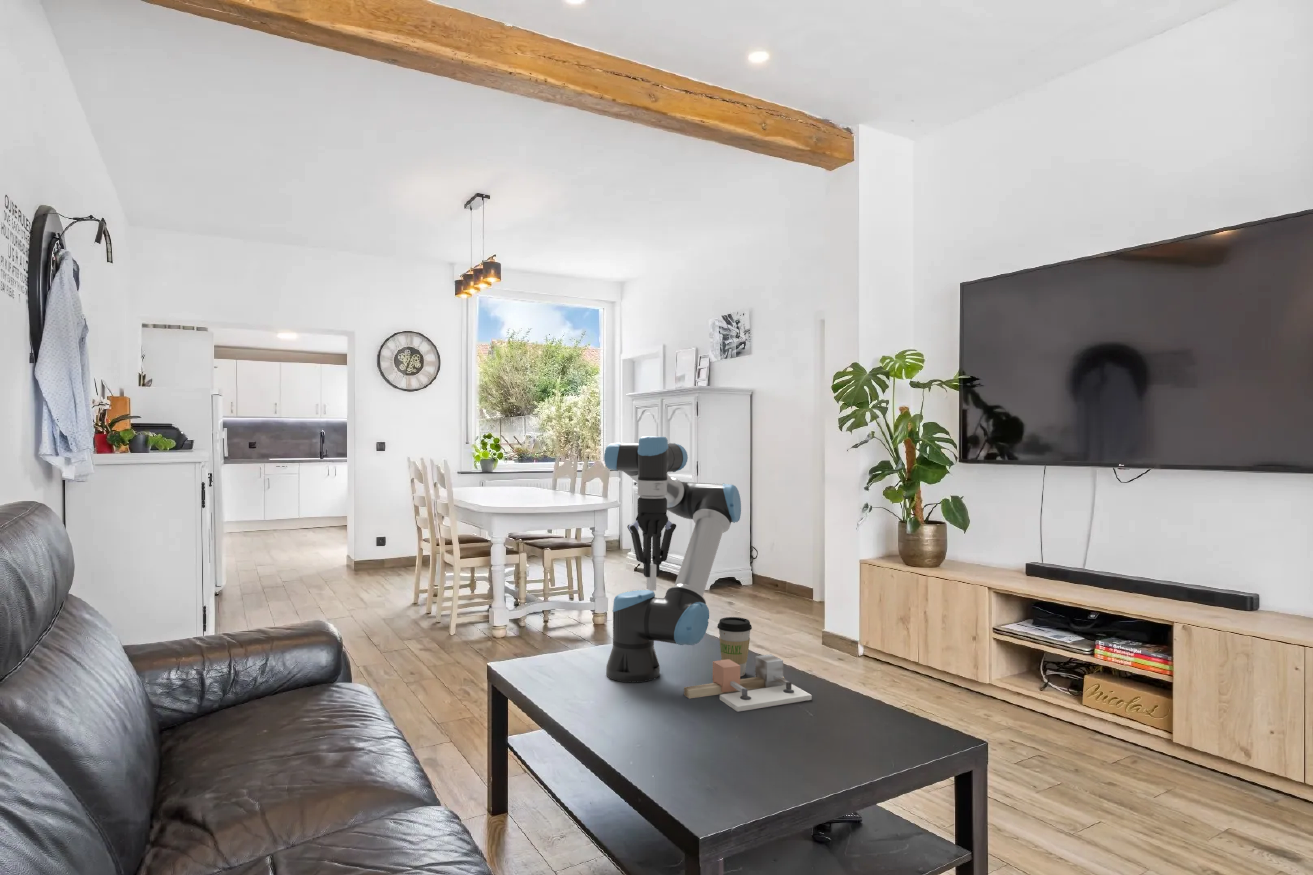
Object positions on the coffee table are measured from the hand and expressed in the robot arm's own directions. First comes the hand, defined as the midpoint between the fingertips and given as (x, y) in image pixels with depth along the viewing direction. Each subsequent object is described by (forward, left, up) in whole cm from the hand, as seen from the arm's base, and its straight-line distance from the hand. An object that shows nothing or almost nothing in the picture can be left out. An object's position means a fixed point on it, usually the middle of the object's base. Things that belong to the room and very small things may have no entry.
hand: (651, 589), depth 190 cm
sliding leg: (+5, +22, -28) cm, 35 cm away
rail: (+5, +24, -28) cm, 38 cm away
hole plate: (+11, +28, -28) cm, 41 cm away
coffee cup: (-11, +31, -29) cm, 43 cm away
